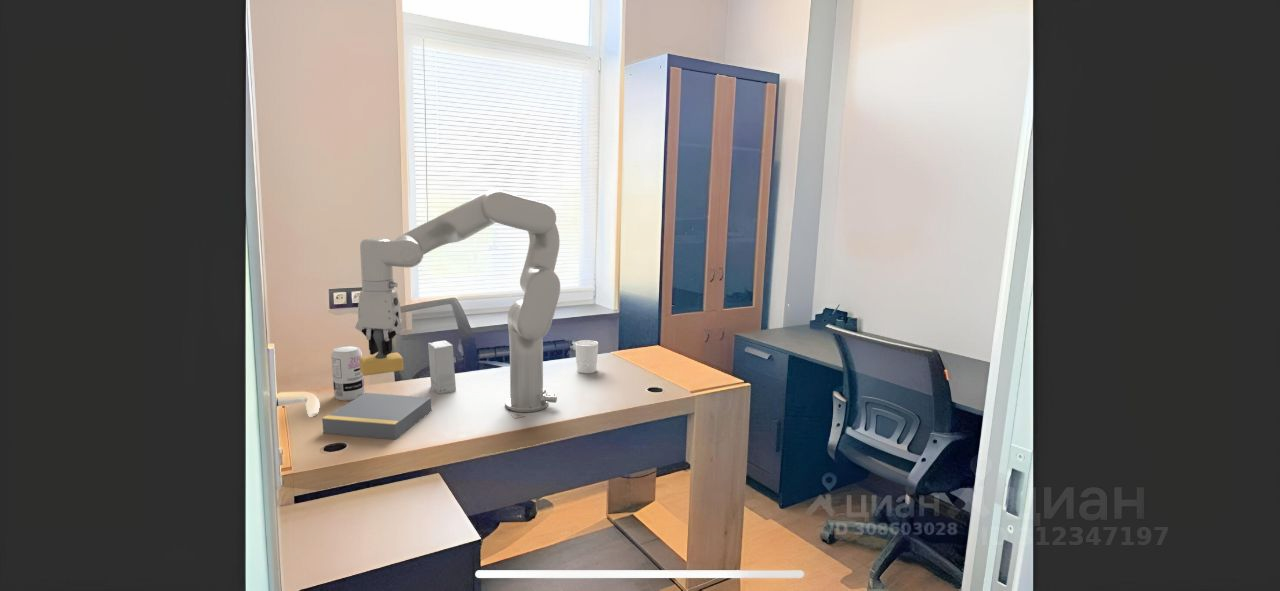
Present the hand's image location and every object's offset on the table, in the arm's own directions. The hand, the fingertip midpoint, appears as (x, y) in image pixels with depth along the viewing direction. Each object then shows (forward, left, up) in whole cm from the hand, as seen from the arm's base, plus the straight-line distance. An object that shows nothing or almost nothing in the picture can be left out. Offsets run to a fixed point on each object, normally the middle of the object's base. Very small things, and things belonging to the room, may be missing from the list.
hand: (380, 353), depth 169 cm
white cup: (-44, -56, -20) cm, 74 cm away
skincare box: (-4, -28, -20) cm, 34 cm away
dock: (+1, 0, -20) cm, 20 cm away
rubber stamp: (0, 0, -5) cm, 5 cm away
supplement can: (+20, -16, -20) cm, 33 cm away
